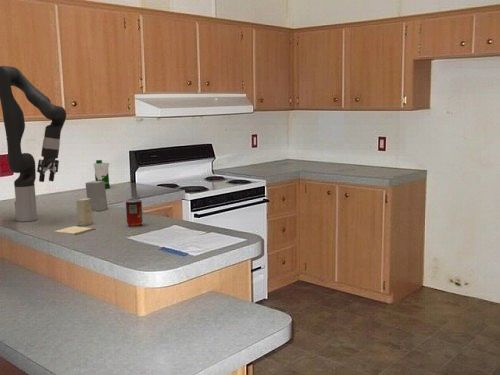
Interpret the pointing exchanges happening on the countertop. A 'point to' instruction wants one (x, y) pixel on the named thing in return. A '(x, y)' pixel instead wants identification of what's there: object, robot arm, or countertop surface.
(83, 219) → the skincare box
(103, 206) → the skincare box
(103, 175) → the milk carton
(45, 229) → the countertop surface
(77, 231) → the notepad
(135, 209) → the soda can
